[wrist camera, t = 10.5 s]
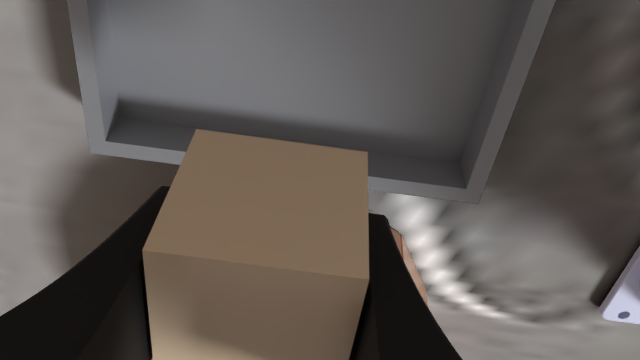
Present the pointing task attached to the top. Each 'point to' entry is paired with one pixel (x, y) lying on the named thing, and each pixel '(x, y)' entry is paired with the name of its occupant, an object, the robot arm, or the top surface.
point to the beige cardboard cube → (259, 252)
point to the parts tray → (312, 80)
